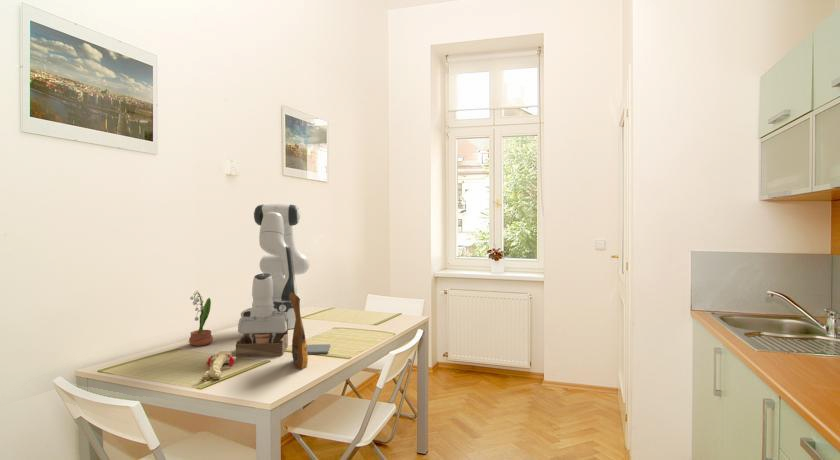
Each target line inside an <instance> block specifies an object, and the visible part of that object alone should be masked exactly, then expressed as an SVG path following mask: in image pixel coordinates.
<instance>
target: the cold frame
mask: <svg viewBox="0 0 840 460" xmlns="http://www.w3.org/2000/svg"><path fill="white" fill-rule="evenodd" d="M286 323H287V330H286V332H285V333H276V336H275V337H274V342H273V343H266V344H252V340H251V338H250V337H249V334H243V335H242V336H241V337H239V339H238V340H236V342H235V343H236V344H235V357H236V358H237V357H238V358H239V357H240V358H241V357H273V356H274V357H278V356H280V357H281V356H283V355H284V353H285V352H286V350H287V349H288V346H289V329H288V318H287V321H286ZM254 334H255V333H254ZM253 337H254V335H253ZM272 337H273V336H272V333H271V336H270V339H271V338H272ZM254 339H255V337H254ZM286 348H287V349H286Z"/></svg>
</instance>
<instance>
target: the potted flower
mask: <svg viewBox="0 0 840 460" xmlns="http://www.w3.org/2000/svg"><path fill="white" fill-rule="evenodd" d="M189 299H190V300H193V301H192V305H194V306H195V305H196V306H199V305H200V309H199V307H195V310H194V311H197V313H196V317H194V321H196V322H197V321H199V327H198V329H197V330H193V331H191V332H190V337H189V339H188V343H189V345H191V346H194V347H200V346H201V347H202V346H207V345H210V344H211V343H213V340H214V339H213V338H214V337H213V336H212V330H210V329H204V326H205V324H206V321H207V319H208V317H209V315H210V311H211V307H212V306H211V305H212V304H211V303H212V301H211V298H210V297H208V298H207V299H206V301H205V304H204V300H203V296H202V295H201V293H200V292H199V291H198V290H196V291H194V293H193V295H192V296H190V297H189ZM198 302H199V303H198ZM199 312H200V314H199V317H198V313H199Z"/></svg>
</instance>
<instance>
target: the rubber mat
mask: <svg viewBox="0 0 840 460" xmlns="http://www.w3.org/2000/svg"><path fill="white" fill-rule="evenodd" d="M329 348H330V349H331V344H330V343H327V344H326V343H325V344H319V343H318V344H307V353H308V355H319V354H318V353H328V354H329V352H330V349H329ZM328 351H329V352H328Z"/></svg>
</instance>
